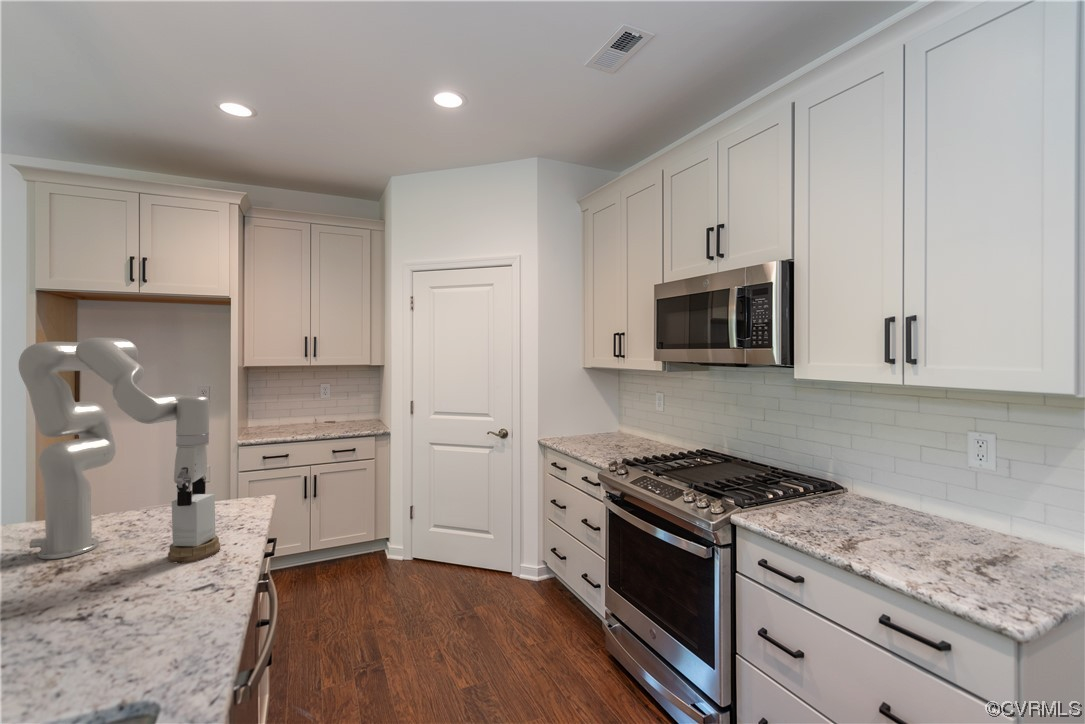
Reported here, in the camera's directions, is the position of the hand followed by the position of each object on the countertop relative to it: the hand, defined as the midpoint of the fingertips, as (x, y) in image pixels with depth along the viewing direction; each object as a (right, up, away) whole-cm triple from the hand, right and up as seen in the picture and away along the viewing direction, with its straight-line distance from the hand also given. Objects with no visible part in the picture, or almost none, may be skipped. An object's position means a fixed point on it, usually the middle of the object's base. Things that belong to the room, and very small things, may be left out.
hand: (191, 500), depth 138 cm
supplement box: (+1, -12, 0) cm, 12 cm away
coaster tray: (+1, -15, 0) cm, 15 cm away
